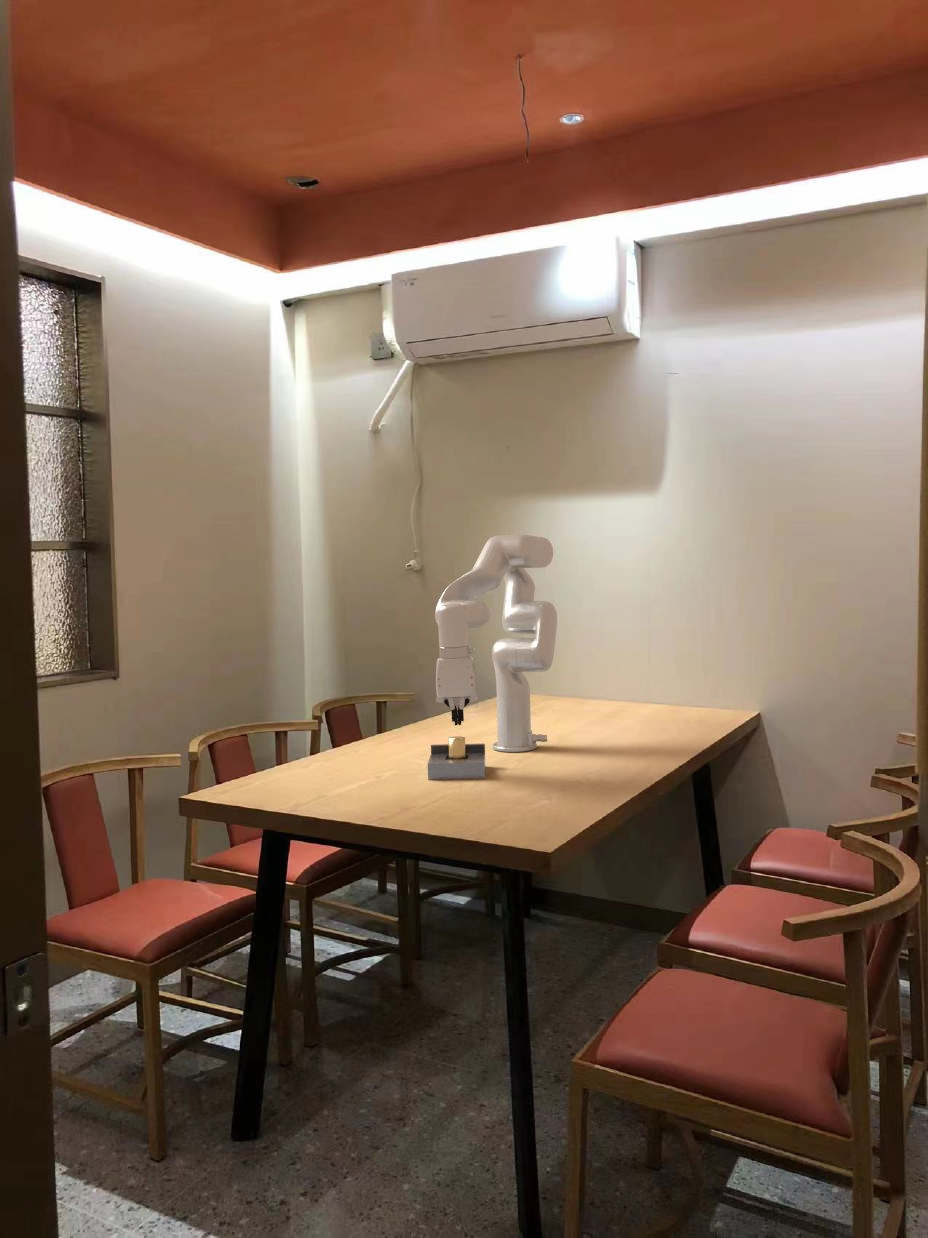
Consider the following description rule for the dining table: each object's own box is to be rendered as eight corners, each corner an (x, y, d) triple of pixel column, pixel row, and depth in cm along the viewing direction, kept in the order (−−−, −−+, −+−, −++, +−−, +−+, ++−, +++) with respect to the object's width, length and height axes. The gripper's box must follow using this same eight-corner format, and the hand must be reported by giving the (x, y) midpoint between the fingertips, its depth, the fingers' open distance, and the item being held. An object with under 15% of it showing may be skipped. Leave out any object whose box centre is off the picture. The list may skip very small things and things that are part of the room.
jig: (485, 766, 254) (484, 743, 254) (484, 778, 240) (483, 754, 240) (432, 767, 255) (431, 744, 255) (428, 779, 241) (427, 755, 241)
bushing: (466, 770, 250) (465, 736, 249) (465, 774, 246) (464, 739, 245) (449, 771, 250) (448, 736, 249) (449, 774, 246) (447, 739, 245)
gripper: (484, 649, 249) (487, 720, 251) (426, 652, 250) (429, 722, 252) (483, 653, 242) (487, 726, 244) (423, 656, 242) (427, 728, 244)
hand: (458, 724), depth 248 cm, fingers closed
